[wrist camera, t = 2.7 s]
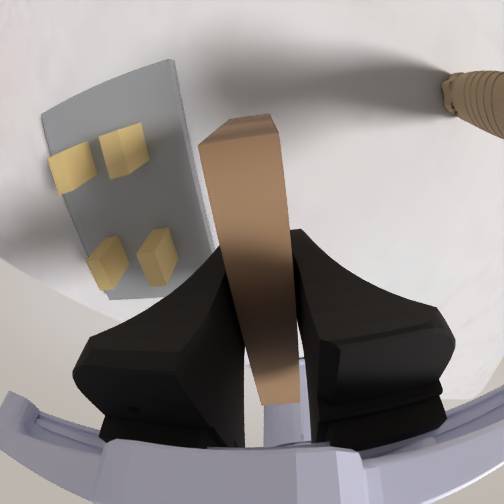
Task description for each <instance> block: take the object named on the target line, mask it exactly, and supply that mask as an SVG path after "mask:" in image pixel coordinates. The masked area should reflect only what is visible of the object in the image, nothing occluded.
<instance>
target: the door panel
mask: <svg viewBox="0 0 504 504" xmlns="http://www.w3.org/2000/svg"><path fill="white" fill-rule="evenodd" d="M198 149H199V154H200V159H201V164H202V168H203V173H204V178H205V182H206V187H207V191H208V196H209V200H210V205H211V209H212V214H213V218H214V222H215V227H216V231H217V235H218V240H219V244H220V248H221V252H222V256H223V261H224V265H225V269H226V273H227V277H228V281H229V285H230V289H231V293H232V297H233V301H234V305H235V309H236V313H237V317H238V321H239V324H240V328H241V332H242V336H243V340H244V343H245V347H246V351H247V354H248V358H249V362H250V366H251V369H252V373H253V376H254V380H255V383H256V387H257V391H258V394H259V398H260V401H261V404H262V405H277V404H290V403H300V373H299V351H298V332H297V315H296V300H295V286H294V273H293V261H292V249H291V238H290V228H289V217H288V207H287V198H286V189H285V180H284V171H283V163H282V155H281V147H280V139H279V133H278V130H277V128H276V126H275V124H274V122H273V120H272V118H271V116H270V114H263V115H256V116H248V117H242V118H235V119H229V120H228V121H227V122H226V123H224V124H223V125H222V126H221V127H219V128H218V129H217V130H216V131H214V132H213V133H212V134H211V135H209V136H208V137H207V138H206V139H205V140H203V141H202V142H201V143H200V144H199V145H198Z"/></svg>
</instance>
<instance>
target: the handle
mask: <svg viewBox="0 0 504 504" xmlns="http://www.w3.org/2000/svg"><path fill="white" fill-rule="evenodd" d="M441 88H442V90H443V94H444V102H443V103H444V106H445V108H446V109H447V110H448V111H449V112H451V113H454V114H457V116H458V117H459V118H460V119H462V120H464V121H466V122H469V123H470V124H472V125H474V126H476V127H478V128H480V129H482V130H484V131H486V132H488V133H491V134H493V135H495V136H497V137H500V138H502V139H504V72H499V71H474V72H468V73H462V72H461V73H454V74H451V75H450V78H449V79H448V80H447V81H443V82H442V85H441Z"/></svg>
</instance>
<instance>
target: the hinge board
mask: <svg viewBox="0 0 504 504" xmlns="http://www.w3.org/2000/svg"><path fill="white" fill-rule="evenodd" d="M41 115H42V120H43V125H44V129H45V133H46V137H47V142H48V145H49V149H50V153H51V157H49V158H47V159H48V162H49V165H50V169H51V172H52V175H53V179H54V182H55V185H56V188H57V191H58V194H59V195H62V194H63V195H64V198H65V201H66V203H67V206H68V209H69V212H70V214H71V217H72V219H73V222H74V225H75V227H76V230H77V232H78V234H79V237H80V239H81V242H82V244H83V246H84V248H85V251H86V253H87V255H88V259H87V260H86V263H87V265H88V267H89V269H90V271H91V273H92V275H93V277H94V279H95V281H96V283H97V285H98V287H99V289H100V290H105V292H106V294H107V296H108V298H109V300H121V299H140V298H157V297H166V296H167V295H169V294H170V293H171V292H173V291H174V290H175V289H176V288H178V287H179V286H180V285H181V284H182V283H184V282H185V281H186V280H187V279H188V278H189V277H190V276H191V275H192V274H193V273H194V272H195V271H196V270H197V269H198V268H199V267H200V266H201V265H202V264H203V263H204V262H205V261H206V260H207V259H208V258H209V257H210V255H211V254H212V253H213V252H214V251H215V248H214V244H213V240H212V236H211V232H210V228H209V224H208V220H207V215H206V211H205V207H204V203H203V198H202V194H201V190H200V185H199V181H198V176H197V172H196V167H195V163H194V158H193V154H192V149H191V144H190V140H189V135H188V130H187V125H186V120H185V115H184V110H183V105H182V100H181V95H180V90H179V84H178V79H177V73H176V68H175V62H174V61H173V60H170V59H168V60H165V61H161V62H158V63H155V64H152V65H149V66H146V67H143V68H140V69H137V70H134V71H131V72H129V73H126V74H123V75H121V76H118V77H116V78H113V79H111V80H108V81H106V82H104V83H101V84H99V85H97V86H94V87H92V88H90V89H88V90H86V91H84V92H82V93H79V94H77V95H75V96H73V97H71V98H70V99H68V100H66V101H64V102H62V103H60V104H58V105H56V106H55V107H53V108H51V109H49V110H47V111H46V112H44V113H42V114H41Z"/></svg>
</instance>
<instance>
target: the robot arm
mask: <svg viewBox="0 0 504 504" xmlns="http://www.w3.org/2000/svg"><path fill="white" fill-rule="evenodd" d="M290 238H291V249H292V261H293V273H294V286H295V300H296V315H297V322H298V327H299V331H300V335H301V340H302V345H303V351H304V359H300V360H299V373H300V403H290V404H277V405H264V447H258V448H257V447H256V448H245V433H244V353H245V343H244V340H243V336H242V332H241V328H240V324H239V321H238V317H237V313H236V309H235V305H234V301H233V297H232V293H231V289H230V285H229V281H228V277H227V273H226V269H225V265H224V261H223V256H222V252H221V248H220V245H219V246H218V248H217V249H216V250H215V251H214V252H213V253H212V254H211V255H210V257H209V258H208V259H207V260H206V261H205V262H204V263H203V264H202V265H201V266H200V267H199V268H198V269H197V270H196V271H195V272H194V273H193V274H192V275H191V276H190V277H189V278H188V279H187V280H186V281H185V282H184V283H182V284H181V285H180V286H179V287H178V288H176V289H175V290H174V291H173V292H171V293H170V294H169V295H167V296H166V297H165V298H163V299H162V300H160V301H159V302H157V303H156V304H154V305H153V306H151V307H150V308H148V309H147V310H145V311H143V312H142V313H140V314H138V315H136V316H135V317H133V318H131V319H129V320H127V321H125V322H123V323H121V324H119V325H117V326H115V327H113V328H111V329H108V330H106V331H104V332H101V333H99V334H97V335H94V336H92V337H90V338H89V340H88V342H87V343H86V345H85V347H84V349H83V351H82V353H81V355H80V357H79V359H78V361H77V363H76V366H75V368H74V369H73V379H74V381H75V383H76V386H77V387H78V389H79V390H80V391H81V392H82V393H83V394H84V395H85V397H86V398H88V399H89V401H91V402H92V403H93V404H94V405H95V406H96V407H97V408H98V409H99V410H100V411H101V412H102V413H103V414H104V415H105V418H104V421H103V424H102V427H101V430H97V429H94V428H90V427H86V426H83V425H80V424H76V423H73V422H70V421H67V420H64V419H61V418H58V417H55V416H52V415H49V414H47V413H44V412H41V411H39V409H38V408H37V407H36V406H35V405H34V404H33V403H31V402H30V401H29V400H28V399H26V398H25V397H23V396H20V395H18V394H16V393H13V392H11V391H8V393H7V395H6V397H5V399H4V401H3V403H2V405H1V408H0V450H2V451H3V452H5V453H6V454H7V455H9V456H11V457H12V458H13V459H15V460H16V461H18V462H19V463H21V464H22V465H24V466H25V467H27V468H28V469H30V470H31V471H33V472H35V473H36V474H38V475H40V476H41V477H43V478H45V479H47V480H48V481H50V482H52V483H54V484H56V485H58V486H60V487H61V488H64V489H65V490H67V491H70V492H72V493H74V494H76V495H78V496H80V497H82V498H85V499H87V500H89V501H92V502H93V503H94V504H434V501H436V500H439V499H441V498H443V497H446V496H448V495H449V494H452V493H454V492H456V491H458V490H460V489H462V488H464V487H466V486H468V485H470V484H471V483H473V482H475V481H477V480H479V479H480V478H482V477H484V476H485V475H487V474H489V473H490V472H492V471H494V470H495V469H497V468H498V467H500V466H502V465H503V464H504V385H502V386H500V387H498V388H497V389H495V390H493V391H491V392H489V393H487V394H485V395H483V396H480V397H478V398H476V399H474V400H472V401H469V402H467V403H465V404H462V405H460V406H458V407H455V408H453V409H450V410H448V411H445V410H444V407H443V404H442V401H441V399H440V396H439V395H441V394H442V392H443V388H442V386H441V383H440V381H439V378H440V376H441V375H442V373H443V371H444V370H445V368H446V366H447V365H448V363H449V361H450V359H451V357H452V354H453V352H454V349H455V338H454V336H453V334H452V332H451V330H450V328H449V326H448V324H447V322H446V321H445V319H444V317H443V316H442V314H441V313H440V312H439V310H438V309H437V307H433V306H430V305H426V304H423V303H419V302H416V301H412V300H409V299H406V298H403V297H401V296H398V295H395V294H393V293H390V292H388V291H386V290H383V289H381V288H379V287H377V286H375V285H373V284H371V283H369V282H367V281H365V280H363V279H361V278H360V277H358V276H356V275H355V274H353V273H351V272H350V271H348V270H347V269H345V268H344V267H342V266H341V265H339V264H338V263H337V262H336V261H334V260H333V259H332V258H331V257H329V256H328V255H327V254H326V253H325V252H324V251H323V250H322V249H321V248H319V247H318V246H317V245H316V244H315V243H314V242H313V241H312V240H311V239H310V237H309V236H308V235H307V234H306V233H305V232H304V231H303V230H302V229H295V230H290Z"/></svg>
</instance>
